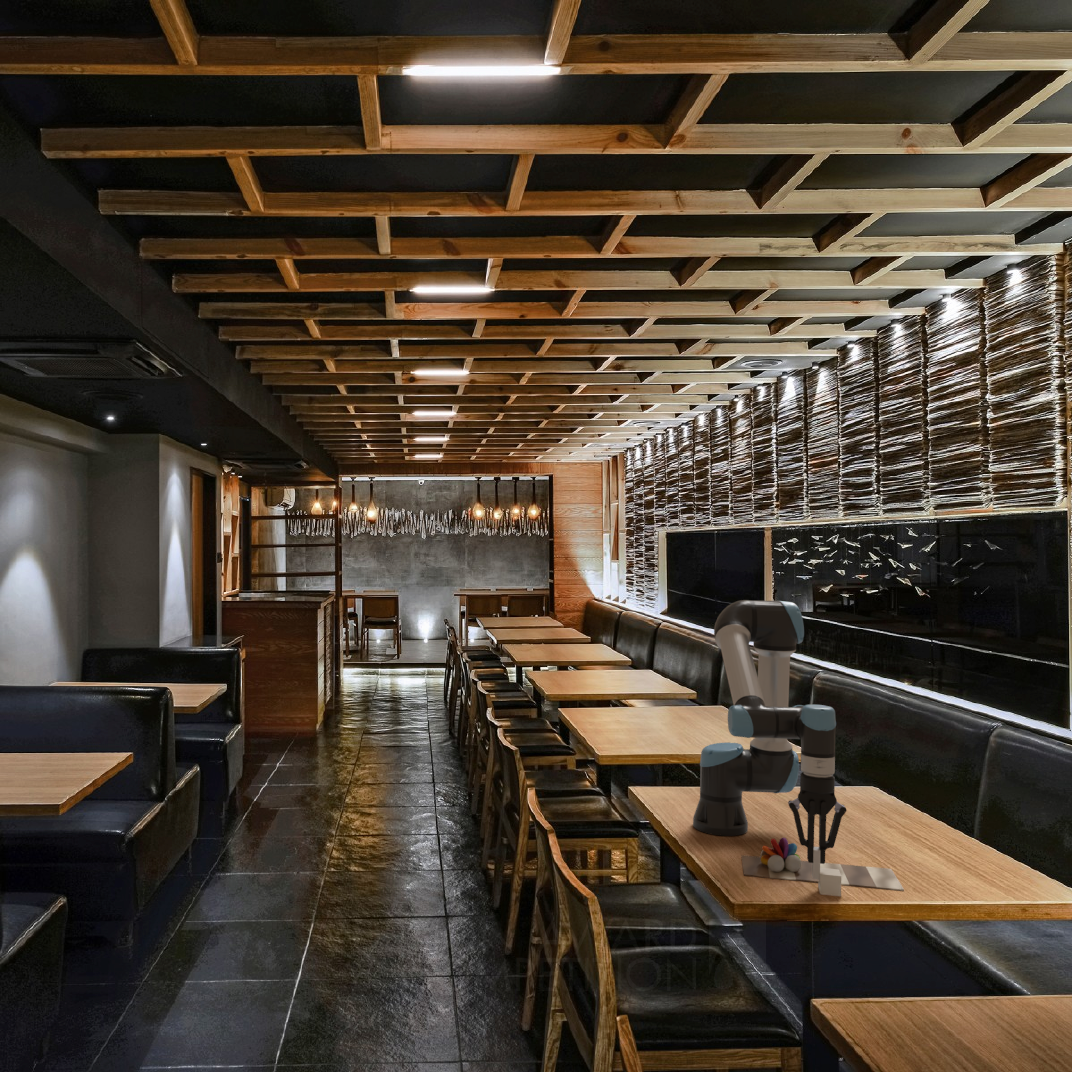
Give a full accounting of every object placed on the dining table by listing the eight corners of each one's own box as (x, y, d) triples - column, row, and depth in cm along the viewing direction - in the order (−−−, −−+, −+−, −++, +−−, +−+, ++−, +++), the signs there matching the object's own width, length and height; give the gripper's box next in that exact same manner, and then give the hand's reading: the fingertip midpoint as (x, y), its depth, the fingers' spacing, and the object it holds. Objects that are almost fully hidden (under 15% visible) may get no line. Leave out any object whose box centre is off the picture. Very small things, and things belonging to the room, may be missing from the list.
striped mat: (743, 875, 204) (743, 874, 204) (741, 856, 218) (741, 855, 218) (904, 890, 197) (904, 889, 197) (891, 870, 210) (891, 868, 210)
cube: (820, 894, 193) (820, 874, 194) (818, 887, 198) (818, 867, 198) (841, 896, 192) (841, 876, 193) (838, 889, 197) (838, 869, 197)
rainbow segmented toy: (755, 861, 213) (755, 832, 213) (792, 861, 214) (793, 832, 214) (767, 874, 204) (767, 843, 205) (806, 874, 205) (806, 843, 205)
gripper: (789, 775, 194) (787, 880, 193) (849, 779, 192) (848, 885, 191) (786, 767, 202) (785, 868, 201) (844, 771, 199) (843, 874, 198)
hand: (815, 876), depth 196 cm, fingers closed
